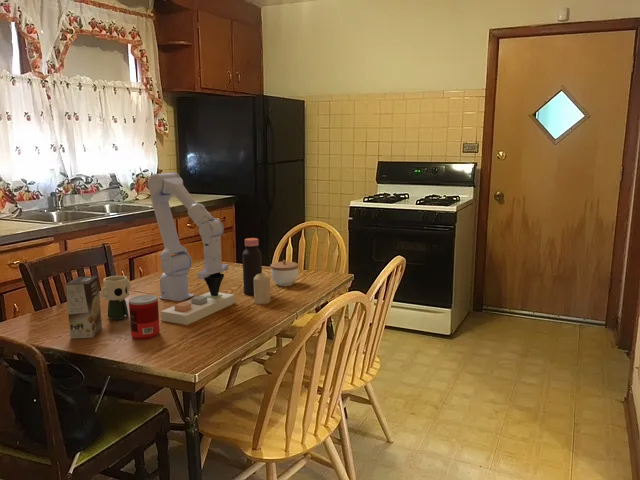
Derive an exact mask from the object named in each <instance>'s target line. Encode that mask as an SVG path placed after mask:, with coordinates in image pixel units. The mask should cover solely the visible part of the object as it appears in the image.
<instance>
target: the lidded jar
mask: <svg viewBox="0 0 640 480" xmlns="http://www.w3.org/2000/svg"><path fill="white" fill-rule="evenodd" d="M269 266H270V275H271V278H272V280H273V281H274V283H275V284H276V285H277V286H280V287H289V286H293V285H294V283H295V281H296V280H297V278H298V275H299V264H298V263H297V262H295V261H287V260H286V259H283V260H282V261H277V262H272V263H271V264H270V265H269Z"/></svg>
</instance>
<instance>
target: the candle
mask: <svg viewBox="0 0 640 480" xmlns="http://www.w3.org/2000/svg"><path fill="white" fill-rule="evenodd" d="M253 301H254V303H255V304H256V305H267V304H270V303H271V278H270V276H268V275H267V274H266V273H265V272H262V273H260V274H257V275H256V276H255V277H254V295H253Z"/></svg>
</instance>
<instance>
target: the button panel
mask: <svg viewBox="0 0 640 480" xmlns="http://www.w3.org/2000/svg"><path fill="white" fill-rule="evenodd" d="M218 294H222V296H221V297H219V298H216V299H214V298H207V303H205V304H202V305H196V304H191V310H188V311H186V312H179V311H175V306H174V305H172V306H170V307H168V308H165V309H163V310H161V311H160V318H161V320H160V321H162V322H168V323H172V324H178V325H184V326H188V325H190V324H193V323H195V322H196V321H199V320H201V319H203V318H205V317H208V316H210V315H212V314H214V313H216V312H219V311H221V310H223V309H225V308H227V307H230V306H232V305H233V304H235V303H236V302H235V294H233V293H224V292H219V293H218ZM208 295H210V291H209V292H206V293H203V294H201V295H199V296H205V297H207V296H208ZM184 302H186V303H191V299H188V300H184Z"/></svg>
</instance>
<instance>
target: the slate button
mask: <svg viewBox="0 0 640 480" xmlns="http://www.w3.org/2000/svg"><path fill="white" fill-rule="evenodd" d="M190 298H191V304H196V305H202V304H205V303H207V297H205V296H200V295H195V296H192V297H190Z"/></svg>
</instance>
